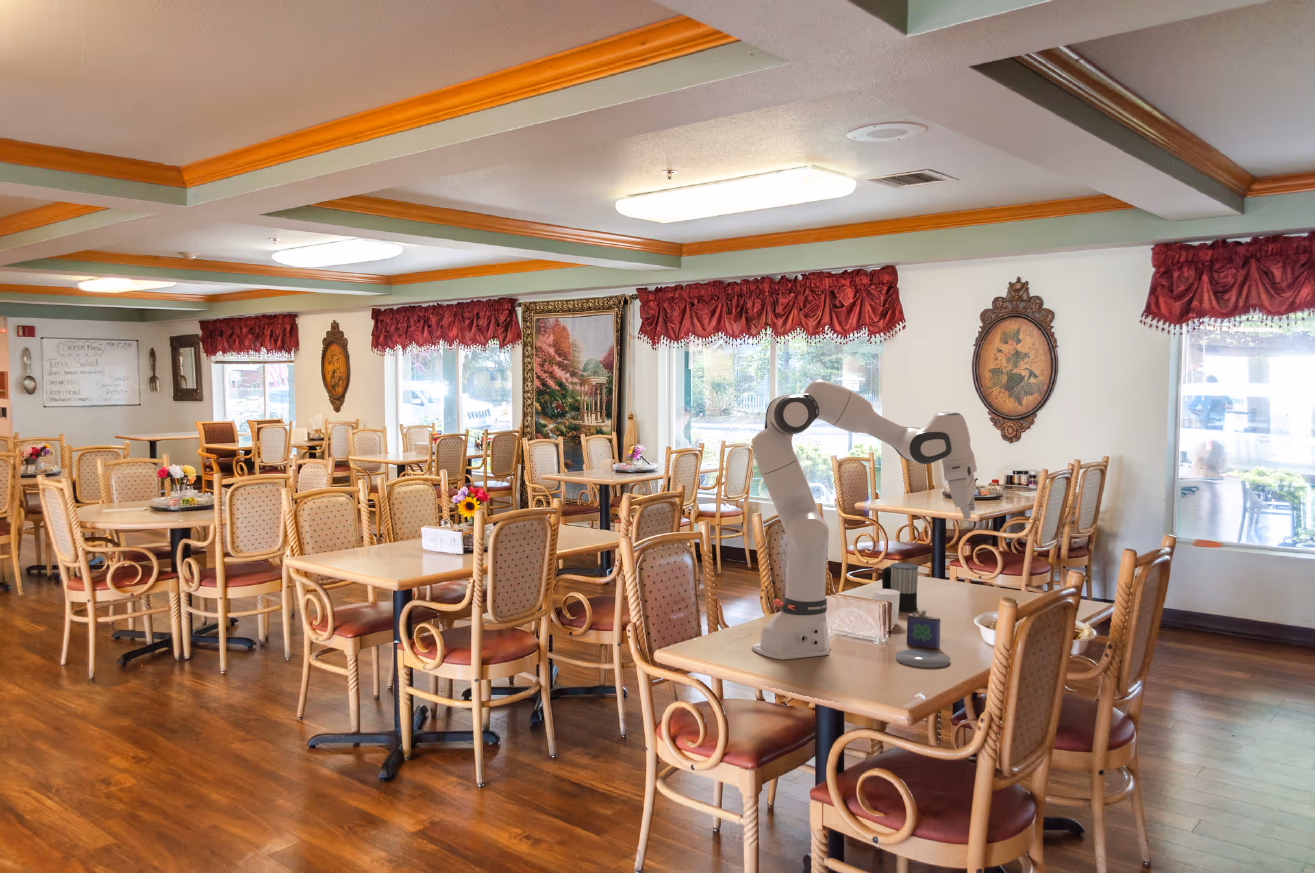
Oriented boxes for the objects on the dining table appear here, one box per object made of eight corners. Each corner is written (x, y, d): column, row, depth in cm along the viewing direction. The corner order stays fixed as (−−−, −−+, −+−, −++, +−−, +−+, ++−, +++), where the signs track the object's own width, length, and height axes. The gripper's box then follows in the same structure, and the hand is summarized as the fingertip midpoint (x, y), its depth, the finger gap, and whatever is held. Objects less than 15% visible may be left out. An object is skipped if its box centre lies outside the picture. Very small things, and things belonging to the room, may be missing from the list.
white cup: (899, 626, 283) (900, 594, 283) (873, 625, 285) (874, 593, 284) (898, 620, 291) (899, 589, 290) (873, 619, 293) (873, 588, 292)
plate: (924, 671, 238) (924, 667, 238) (884, 657, 250) (884, 654, 250) (960, 663, 246) (961, 659, 246) (920, 650, 258) (920, 646, 258)
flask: (940, 648, 260) (941, 610, 259) (938, 650, 257) (938, 613, 257) (907, 643, 264) (908, 607, 264) (905, 646, 262) (905, 609, 261)
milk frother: (922, 609, 307) (923, 565, 306) (900, 617, 295) (901, 571, 294) (884, 602, 316) (885, 559, 316) (860, 610, 305) (861, 565, 304)
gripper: (953, 461, 271) (963, 507, 272) (942, 476, 253) (953, 524, 254) (975, 458, 268) (985, 504, 269) (966, 472, 250) (976, 521, 251)
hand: (969, 514), depth 261 cm, fingers open, 8 cm apart
